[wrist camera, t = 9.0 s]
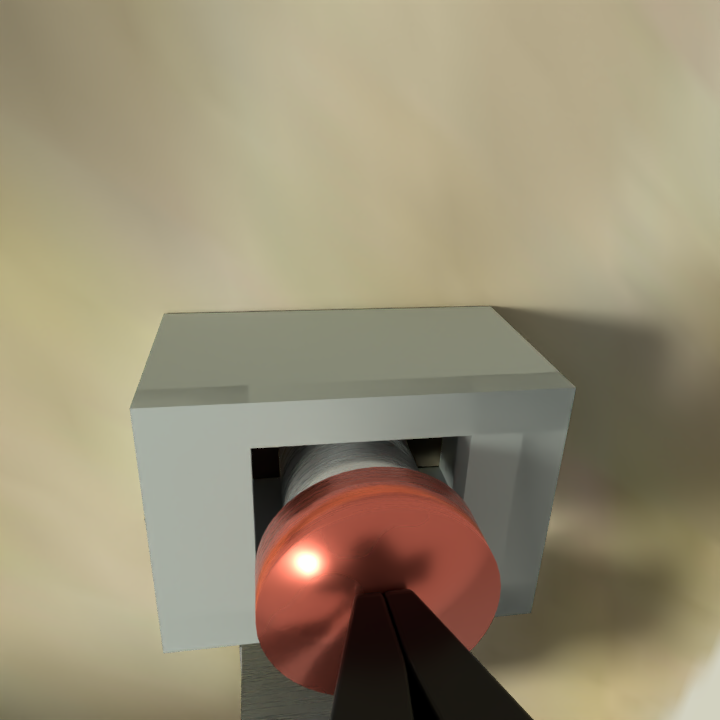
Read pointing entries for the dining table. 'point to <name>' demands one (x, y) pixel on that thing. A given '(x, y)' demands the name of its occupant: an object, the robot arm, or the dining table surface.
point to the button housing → (333, 438)
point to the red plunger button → (363, 553)
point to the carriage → (276, 692)
